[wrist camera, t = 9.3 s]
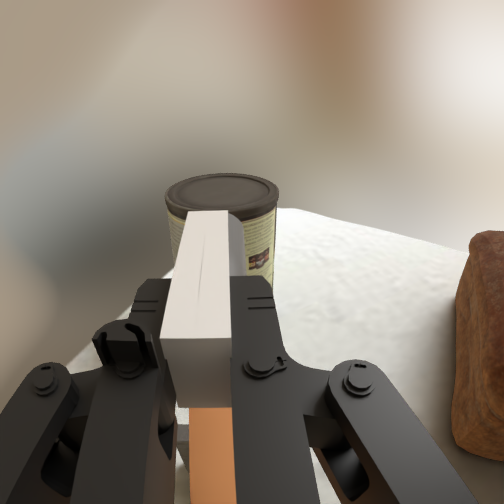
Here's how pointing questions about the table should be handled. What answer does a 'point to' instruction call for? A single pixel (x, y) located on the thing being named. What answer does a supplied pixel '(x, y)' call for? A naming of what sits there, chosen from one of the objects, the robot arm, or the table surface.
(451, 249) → the table surface
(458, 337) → the bread
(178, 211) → the coffee can
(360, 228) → the table surface
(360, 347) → the table surface
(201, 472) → the lever
